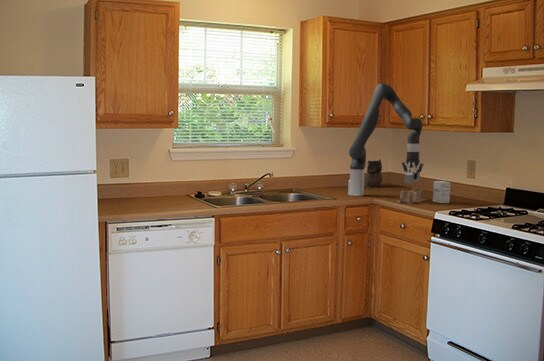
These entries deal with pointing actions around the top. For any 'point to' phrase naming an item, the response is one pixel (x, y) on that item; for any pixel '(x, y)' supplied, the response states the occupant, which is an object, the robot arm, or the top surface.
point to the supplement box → (441, 192)
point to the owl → (373, 174)
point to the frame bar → (411, 177)
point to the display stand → (411, 196)
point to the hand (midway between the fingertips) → (412, 178)
